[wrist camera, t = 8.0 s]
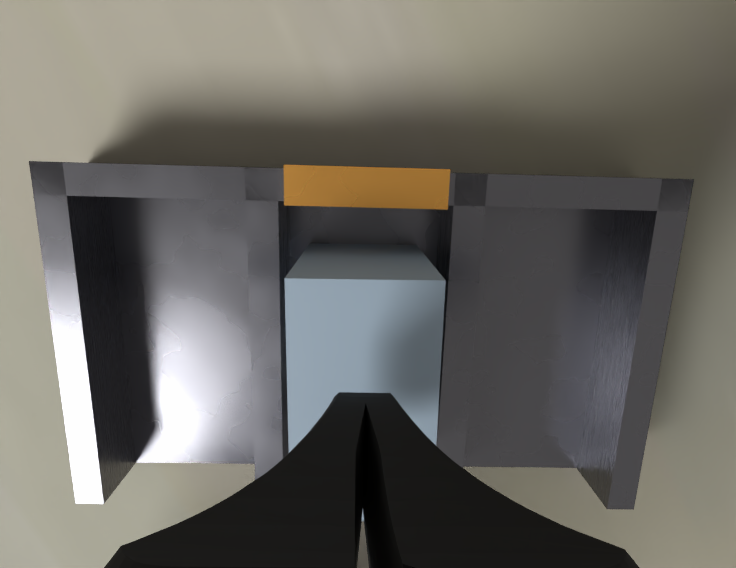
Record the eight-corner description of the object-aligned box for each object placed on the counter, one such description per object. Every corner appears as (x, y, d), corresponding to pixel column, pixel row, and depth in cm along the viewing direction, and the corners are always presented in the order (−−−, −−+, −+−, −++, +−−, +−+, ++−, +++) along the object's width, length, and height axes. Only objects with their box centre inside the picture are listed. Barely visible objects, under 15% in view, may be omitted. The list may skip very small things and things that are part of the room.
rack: (594, 454, 21) (646, 517, 17) (117, 448, 20) (62, 511, 16) (637, 176, 18) (711, 176, 14) (86, 160, 17) (10, 157, 14)
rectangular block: (409, 414, 19) (431, 521, 13) (311, 413, 19) (290, 520, 13) (416, 245, 17) (445, 280, 12) (309, 243, 17) (284, 278, 11)
